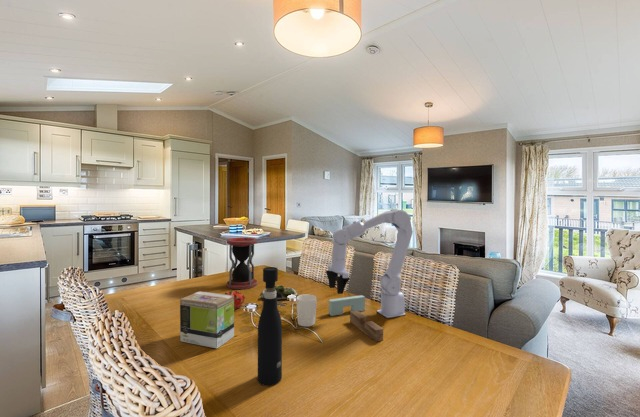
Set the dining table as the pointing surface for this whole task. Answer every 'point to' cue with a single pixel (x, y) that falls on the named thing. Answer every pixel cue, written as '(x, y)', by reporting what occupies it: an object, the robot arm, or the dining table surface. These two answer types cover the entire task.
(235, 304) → the dragon fruit
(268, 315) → the black water bottle
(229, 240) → the hourglass
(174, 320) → the dining table surface
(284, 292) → the salad plate
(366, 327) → the walnut rail
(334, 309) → the pale green flat block
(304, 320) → the white cup
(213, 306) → the tea box
